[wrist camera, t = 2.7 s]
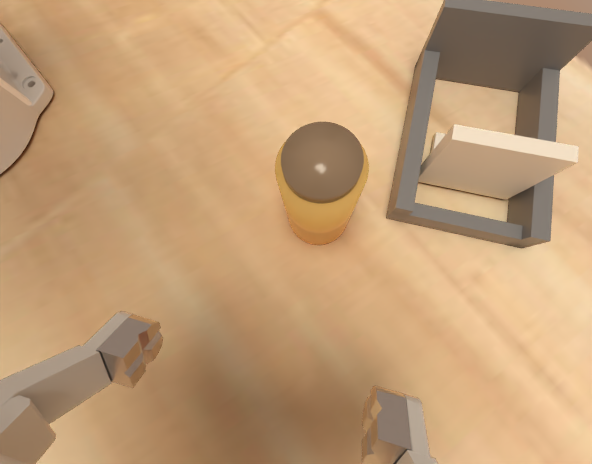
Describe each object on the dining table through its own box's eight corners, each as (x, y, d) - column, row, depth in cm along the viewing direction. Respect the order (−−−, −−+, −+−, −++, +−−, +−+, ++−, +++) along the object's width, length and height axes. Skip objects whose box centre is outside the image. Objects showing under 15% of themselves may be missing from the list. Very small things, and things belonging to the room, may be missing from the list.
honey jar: (278, 206, 27) (255, 144, 16) (327, 178, 27) (337, 99, 16) (308, 256, 25) (304, 224, 15) (359, 225, 26) (392, 172, 15)
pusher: (504, 200, 25) (578, 162, 18) (414, 182, 26) (451, 139, 19) (509, 149, 26) (580, 95, 19) (423, 133, 27) (461, 76, 20)
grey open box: (521, 248, 24) (602, 228, 18) (386, 218, 26) (412, 188, 19) (534, 84, 28) (605, 15, 21) (415, 65, 29) (446, -5, 23)
